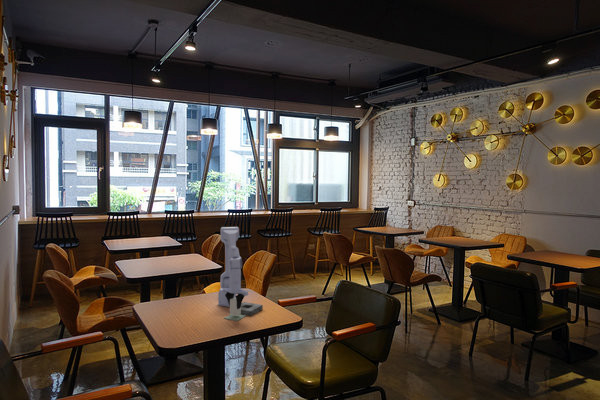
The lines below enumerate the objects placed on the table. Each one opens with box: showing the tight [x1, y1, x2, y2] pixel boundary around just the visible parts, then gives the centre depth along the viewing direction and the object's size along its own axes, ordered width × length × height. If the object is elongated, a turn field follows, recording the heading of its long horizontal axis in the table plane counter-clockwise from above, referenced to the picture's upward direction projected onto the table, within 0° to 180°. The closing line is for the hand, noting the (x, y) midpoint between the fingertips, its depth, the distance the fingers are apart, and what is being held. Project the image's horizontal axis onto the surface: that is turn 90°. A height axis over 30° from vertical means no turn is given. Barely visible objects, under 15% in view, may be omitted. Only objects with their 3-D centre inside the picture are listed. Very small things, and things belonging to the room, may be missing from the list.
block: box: [229, 297, 242, 316], centre depth 204 cm, size 4×4×8 cm
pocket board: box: [240, 301, 264, 317], centre depth 215 cm, size 12×12×2 cm
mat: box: [223, 314, 247, 322], centre depth 204 cm, size 8×8×1 cm
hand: (235, 307), depth 204 cm, fingers closed on block, 4 cm apart
